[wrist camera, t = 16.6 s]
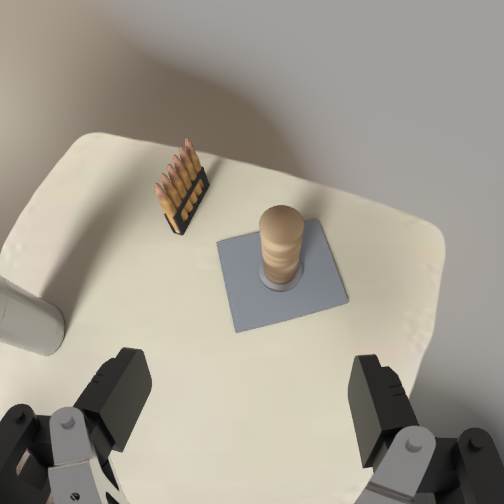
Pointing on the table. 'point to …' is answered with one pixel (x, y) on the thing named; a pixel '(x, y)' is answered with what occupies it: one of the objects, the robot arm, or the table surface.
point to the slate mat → (271, 302)
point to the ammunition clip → (182, 189)
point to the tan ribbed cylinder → (281, 248)
